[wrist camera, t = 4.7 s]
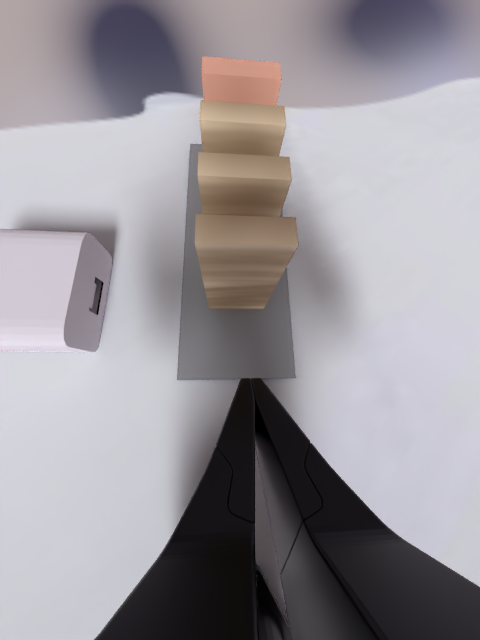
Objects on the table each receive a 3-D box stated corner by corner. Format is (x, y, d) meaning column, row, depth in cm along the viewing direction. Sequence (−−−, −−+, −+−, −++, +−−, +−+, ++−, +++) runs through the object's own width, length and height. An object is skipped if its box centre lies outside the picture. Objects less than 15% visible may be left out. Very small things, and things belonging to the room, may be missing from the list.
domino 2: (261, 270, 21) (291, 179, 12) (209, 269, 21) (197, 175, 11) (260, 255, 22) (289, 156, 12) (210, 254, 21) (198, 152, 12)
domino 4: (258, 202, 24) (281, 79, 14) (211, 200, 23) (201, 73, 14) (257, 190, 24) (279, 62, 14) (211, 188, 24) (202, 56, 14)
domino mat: (293, 378, 19) (295, 377, 19) (178, 379, 19) (177, 380, 18) (275, 153, 26) (276, 148, 26) (191, 149, 26) (190, 143, 25)
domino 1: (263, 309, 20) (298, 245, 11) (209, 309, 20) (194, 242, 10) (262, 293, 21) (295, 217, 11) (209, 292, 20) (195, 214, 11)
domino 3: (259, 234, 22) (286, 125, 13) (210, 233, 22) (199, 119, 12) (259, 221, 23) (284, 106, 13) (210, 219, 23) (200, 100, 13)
